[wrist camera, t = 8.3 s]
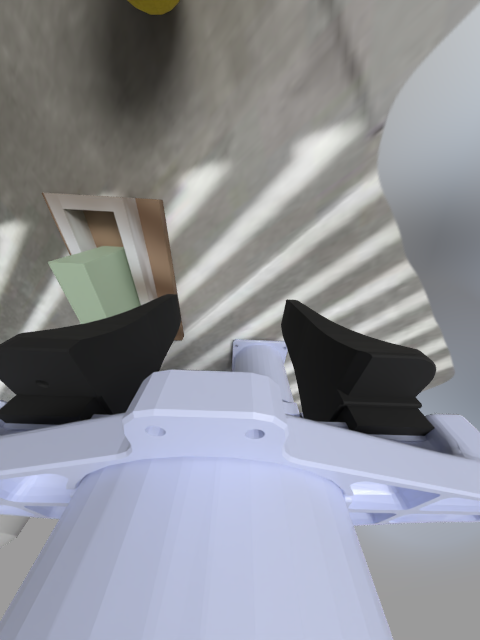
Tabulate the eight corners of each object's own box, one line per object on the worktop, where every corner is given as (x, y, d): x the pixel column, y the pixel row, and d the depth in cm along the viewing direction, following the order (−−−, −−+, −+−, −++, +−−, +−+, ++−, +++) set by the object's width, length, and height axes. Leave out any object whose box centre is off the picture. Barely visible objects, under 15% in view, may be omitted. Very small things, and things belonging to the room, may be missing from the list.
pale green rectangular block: (147, 315, 22) (119, 347, 17) (127, 314, 22) (93, 346, 17) (128, 247, 18) (83, 263, 13) (103, 245, 18) (47, 262, 12)
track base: (184, 336, 25) (177, 350, 22) (112, 332, 25) (98, 347, 22) (162, 199, 16) (147, 198, 14) (51, 193, 16) (16, 191, 14)
